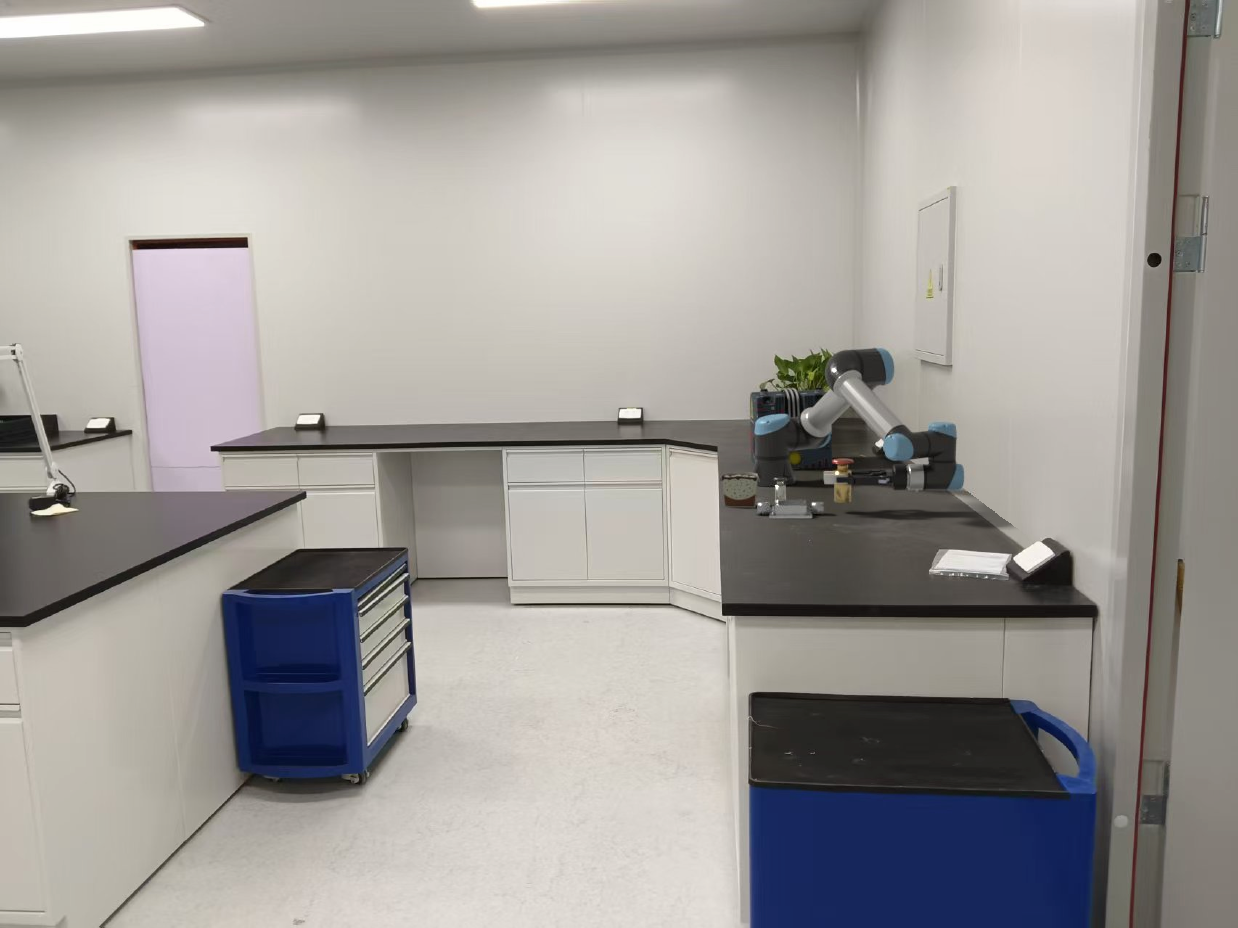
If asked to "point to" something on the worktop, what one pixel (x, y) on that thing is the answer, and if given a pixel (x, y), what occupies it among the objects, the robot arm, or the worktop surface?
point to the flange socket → (790, 509)
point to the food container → (739, 489)
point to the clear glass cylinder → (780, 488)
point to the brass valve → (842, 490)
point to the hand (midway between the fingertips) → (824, 477)
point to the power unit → (793, 407)
